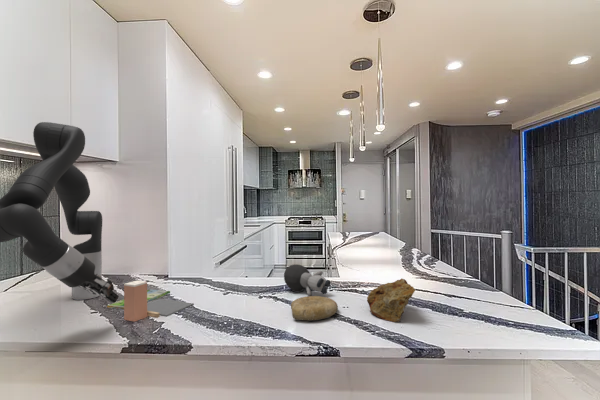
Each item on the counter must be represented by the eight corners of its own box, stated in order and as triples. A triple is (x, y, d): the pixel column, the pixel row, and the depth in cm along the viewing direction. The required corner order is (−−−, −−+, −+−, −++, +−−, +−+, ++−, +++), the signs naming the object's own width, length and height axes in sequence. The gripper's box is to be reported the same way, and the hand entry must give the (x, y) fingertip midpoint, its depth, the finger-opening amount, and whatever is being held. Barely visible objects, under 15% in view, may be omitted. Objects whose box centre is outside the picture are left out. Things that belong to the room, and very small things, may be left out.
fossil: (343, 323, 89) (343, 307, 89) (292, 325, 88) (292, 309, 88) (332, 303, 106) (332, 290, 106) (289, 305, 105) (289, 292, 105)
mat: (131, 310, 102) (131, 308, 102) (160, 299, 113) (160, 298, 113) (166, 316, 95) (166, 315, 95) (193, 304, 106) (193, 303, 106)
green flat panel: (106, 309, 105) (130, 311, 102) (106, 304, 105) (130, 307, 102) (149, 292, 124) (170, 294, 122) (149, 289, 124) (170, 290, 122)
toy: (338, 284, 121) (299, 271, 132) (329, 268, 113) (288, 256, 125) (327, 308, 115) (286, 293, 127) (316, 293, 108) (274, 278, 120)
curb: (130, 312, 99) (130, 309, 99) (132, 311, 100) (132, 308, 100) (157, 317, 94) (157, 313, 94) (159, 316, 95) (159, 312, 95)
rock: (375, 306, 108) (354, 290, 106) (402, 275, 107) (382, 258, 105) (397, 340, 89) (372, 321, 87) (431, 302, 88) (407, 283, 86)
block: (124, 319, 93) (124, 283, 93) (137, 314, 97) (137, 280, 97) (134, 321, 91) (134, 285, 92) (147, 316, 96) (147, 281, 96)
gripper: (96, 254, 77) (139, 290, 88) (64, 252, 82) (108, 285, 93) (73, 280, 72) (122, 314, 83) (41, 276, 77) (91, 308, 88)
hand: (115, 299), depth 88 cm, fingers closed
